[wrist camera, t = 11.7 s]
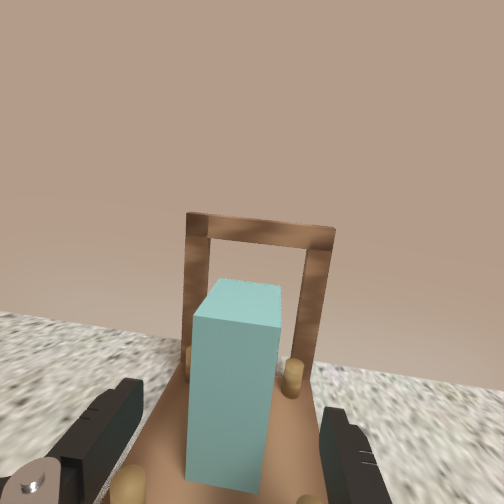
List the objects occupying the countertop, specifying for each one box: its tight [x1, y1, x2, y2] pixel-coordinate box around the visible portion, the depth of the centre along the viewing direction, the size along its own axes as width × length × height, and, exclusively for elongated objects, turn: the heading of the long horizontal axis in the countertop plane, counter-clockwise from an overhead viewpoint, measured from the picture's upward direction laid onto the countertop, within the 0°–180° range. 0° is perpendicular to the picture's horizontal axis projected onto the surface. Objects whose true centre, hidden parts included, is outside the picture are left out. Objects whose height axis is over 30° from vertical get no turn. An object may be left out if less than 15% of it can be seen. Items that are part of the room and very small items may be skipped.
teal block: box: [185, 278, 281, 494], centre depth 17 cm, size 4×6×11 cm
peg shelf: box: [100, 212, 336, 504], centre depth 18 cm, size 13×16×18 cm
